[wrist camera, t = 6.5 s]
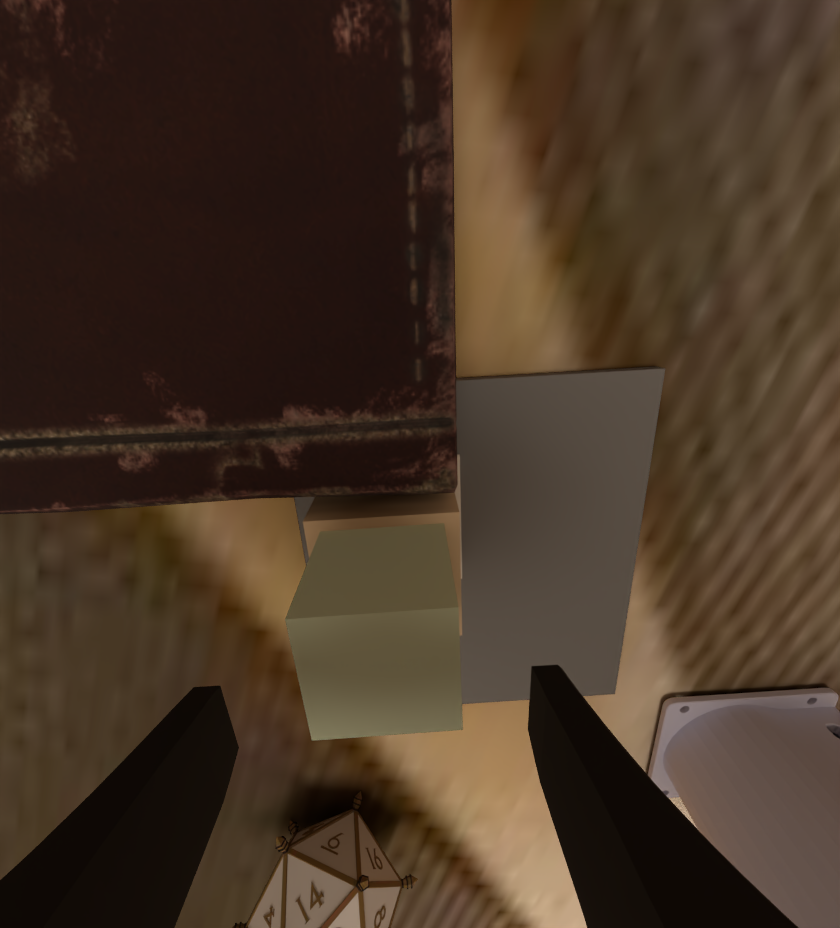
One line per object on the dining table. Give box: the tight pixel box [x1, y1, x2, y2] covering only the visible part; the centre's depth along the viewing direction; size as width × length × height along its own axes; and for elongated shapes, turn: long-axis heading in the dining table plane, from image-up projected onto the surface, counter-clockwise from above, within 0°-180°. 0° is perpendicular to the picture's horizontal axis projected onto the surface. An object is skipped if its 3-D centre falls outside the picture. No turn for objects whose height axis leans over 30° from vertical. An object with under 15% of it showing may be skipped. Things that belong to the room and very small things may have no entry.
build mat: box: [294, 367, 665, 704], centre depth 19 cm, size 15×17×1 cm
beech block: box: [303, 493, 462, 636], centre depth 16 cm, size 5×5×4 cm
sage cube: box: [285, 523, 463, 740], centre depth 12 cm, size 4×4×4 cm
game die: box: [233, 791, 418, 928], centre depth 22 cm, size 9×8×10 cm
